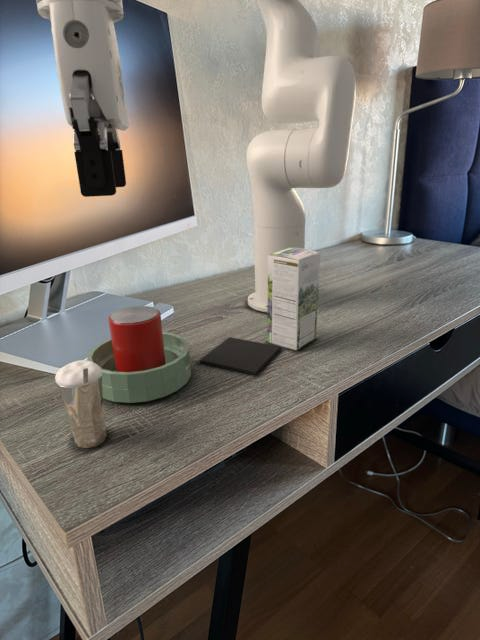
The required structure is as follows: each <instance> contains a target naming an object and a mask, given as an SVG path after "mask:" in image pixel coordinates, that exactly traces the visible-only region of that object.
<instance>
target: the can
mask: <svg viewBox="0 0 480 640" xmlns="http://www.w3.org/2000/svg"><path fill="white" fill-rule="evenodd" d="M161 316H162V315H161V311H160V310H159V309H157V308H155V307H152V306H146V305H135V306H128V307H124V308H120V309H118V310H115V311H114V312H112V313H111V314H110V315H109V316H108V319H107V320H108V325H109V327H108V328H109V332H110V339H111V340H112V346H113V353H114V359H115V366H116V372H136V371H145V370H149V369H153V368H157V367H160V366H163V365H165V364H166V360H165V351H164V342H163V332H164V331H163V324H162V317H161ZM162 331H163V332H162Z"/></svg>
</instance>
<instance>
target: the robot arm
mask: <svg viewBox="0 0 480 640" xmlns="http://www.w3.org/2000/svg"><path fill="white" fill-rule="evenodd" d="M35 2H36V7H37V12H38V13H37V14H38V15H39V16H40V17H41V18H44V19H47V20H48V21H50V26H51V29H50V31H51V35H52V41H53V50H54V56H55V57H54V58H55V64H56V65H55V66H56V70H57V72H56V73H57V76H58V83H59V90H60V91H59V92H60V96H61V102H62V106H63V107H62V108H63V111H64V115H65V119H66V122H67V124H68V125H69V126H70V127H71V128H72V138H73V139H72V140H73V147H74V151H73V152H74V159H75V165H76V166H75V167H76V171H77V177H78V183H79V190H80V191H79V192H80V195H81V196H82V197H85V198H89V197H91V198H92V197H110V196H114V195H116V193H117V188H125V187H126V185H127V180H126V179H127V178H126V170H125V161H124V155H123V149H121V140H120V136H119V132H118V130H119V131H123V132H124V131H127V130H128V129H129V127H130V123H129V116H128V111H127V103H126V97H125V96H126V95H125V88H124V87H125V86H124V81H123V73H122V64H121V57H120V51H119V45H118V44H119V43H118V39H117V34H116V29H115V23H118V22H119V21H122V19H123V18H124V7H123V0H35ZM256 3H257V5H258V6H257V7H258V8H259V10H260V11H259V12H260V13H261V16H262V19H263V22H264V26H265V32H266V45H265V55H264V56H265V58H264V67H263V68H264V69H263V76H262V88H261V109H262V113H263V115H264V117H265V118H266V119H267V120H269V121H271V122H273V123H277V124H301V123H302V124H303V123H318V127H312V128H311V127H310V128H286V129H285V128H284V129H272V130H267V131H263V132H261V133H258V134H257V135H256V136H255V137H253V138H252V140H250V142H249V144H248V147H247V149H246V158H245V159H246V168H247V172H248V178H249V182H250V188H251V195H252V208H253V211H252V212H253V250H254V251H253V252H254V292H252V293H251V294H249V295H248V297H247V306H249V307H250V308H251V309H252V310H255V311H257V312H258V311H259V312H262V313H267V314H268V255H270V254H273V253H275V252H278V251H281V250H284V249H287V248H302V249H306V246H305V245H306V210H305V206H304V204H303V202H302V200H301V198H300V196H299V195H298V193H297V192H296V190H295V189H329V188H333V187H336V186H337V185H339V184H340V183H341V182H342V180H343V179H344V177H345V174H346V172H347V171H346V170H347V167H348V166H347V165H348V161H349V154H350V145H351V137H352V129H353V121H354V114H355V107H356V97H357V83H356V82H357V81H356V75H355V70H354V67H353V65H352V64H351V61H349V60H348V59H347V58H346V57H344V56H341V55H325V56H318V57H316V56H317V55H316V54H317V46H318V45H317V44H318V29H317V25H316V23H315V21H314V19H313V18H312V16H311V14H310V12H309V11H308V10H307V8H306V7H305V6H304V5H303V4H302V2H300V0H256Z"/></svg>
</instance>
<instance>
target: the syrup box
mask: <svg viewBox="0 0 480 640" xmlns="http://www.w3.org/2000/svg"><path fill="white" fill-rule="evenodd" d="M320 262H321V253H320V252H319V251H315V250H311V249H307V248H305V249H302V248H287V249H284V250H281V251H278V252H275V253H273V254H270V255H268V313H267V329H266V330H267V334H266V335H267V339H266V340H267V342H268V344H271V345H275V346H280V347H281V348H282V347H283V348H286V349H289V350H293V351H300V349H302V348H303V347H305V346H306V345H308V344H309V343H311V342H313V341H314V340H316V338H317V325H318V324H317V323H318V321H317V320H318V305H319V304H318V302H319V300H318V299H319V282H320V266H321V265H320Z"/></svg>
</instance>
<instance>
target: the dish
mask: <svg viewBox="0 0 480 640" xmlns="http://www.w3.org/2000/svg"><path fill="white" fill-rule="evenodd" d="M162 332H163V342H164V351H165V360H166V364H165V365H163V366H160V367H157V368H153V369H149V370H145V371H136V372H116V366H115V359H114V353H113V346H112V340H111V338H108V339H106V340H104V341H102V342H100V343H98V344H97V345H95V346H94V347H93V348H92V349H91V350H89V352H88V355H87V357H86V361H91V362H94V363H96V364H97V365H98V366H99V367H100V368H101V370H102V384H103V399H104V400H107V401H110V402H113V403H126V404H135V403H144V402H151V401H154V400H159V399H162V398H164V397H167V396H170V395H171V394H173V393H175V392H177V391H179V390H181V389H182V388H183V387H184V386H185V385H187V384H188V382H189V380H190V378H191V376H192V366H191V355H190V345H189V341H188V340H186V338H184V337H183V336H181V335H179V334H176V333H174V332H168V331H163V330H162Z"/></svg>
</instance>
